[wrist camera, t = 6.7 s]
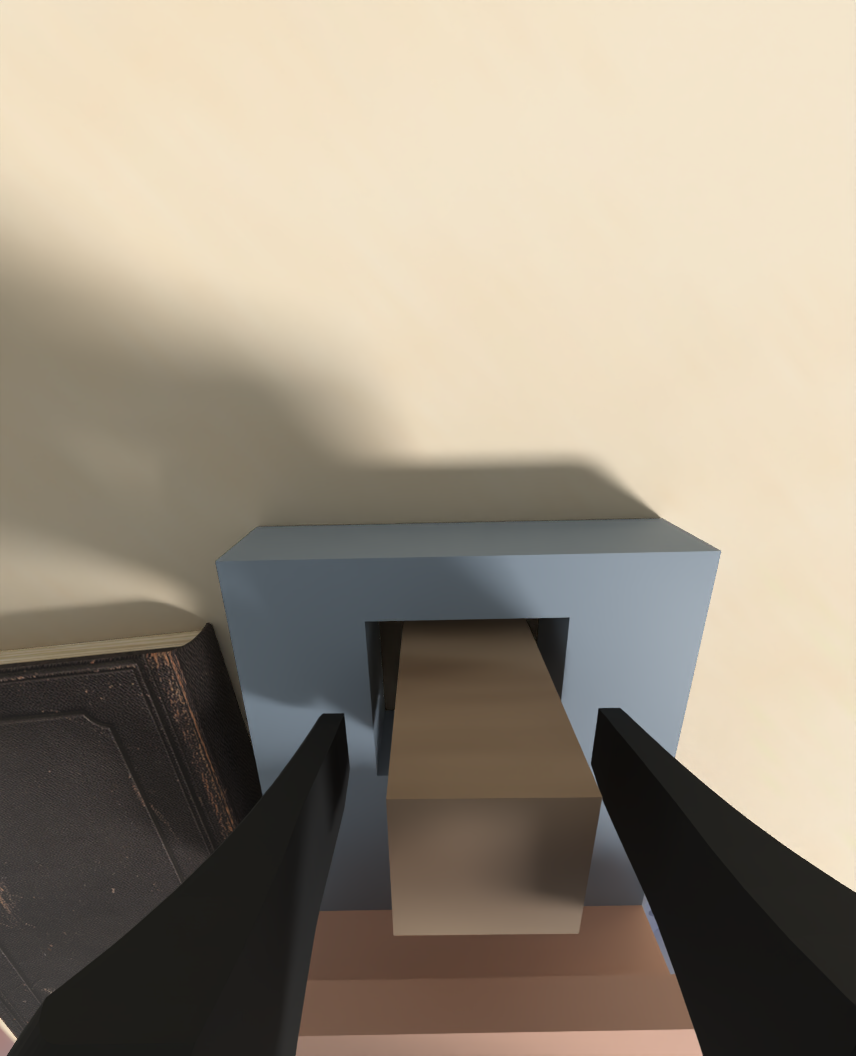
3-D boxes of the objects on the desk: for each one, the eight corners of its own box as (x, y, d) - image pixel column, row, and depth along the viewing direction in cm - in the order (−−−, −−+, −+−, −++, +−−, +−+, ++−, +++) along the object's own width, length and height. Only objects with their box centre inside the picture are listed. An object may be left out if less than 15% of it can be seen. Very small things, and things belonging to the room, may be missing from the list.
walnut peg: (508, 683, 17) (578, 933, 9) (408, 683, 16) (393, 935, 9) (514, 593, 15) (602, 797, 8) (405, 594, 15) (386, 799, 8)
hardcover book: (60, 988, 24) (23, 1048, 22) (-170, 655, 17) (-260, 696, 14) (331, 968, 23) (322, 1028, 21) (219, 615, 16) (186, 651, 14)
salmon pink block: (638, 921, 17) (722, 1134, 12) (289, 927, 17) (235, 1142, 12) (660, 823, 15) (769, 1028, 10) (269, 830, 15) (196, 1038, 10)
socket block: (607, 843, 19) (638, 921, 17) (309, 848, 19) (289, 927, 17) (662, 518, 14) (721, 551, 11) (257, 526, 14) (215, 561, 11)
